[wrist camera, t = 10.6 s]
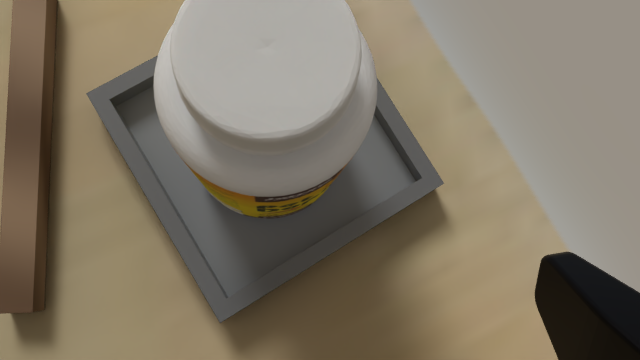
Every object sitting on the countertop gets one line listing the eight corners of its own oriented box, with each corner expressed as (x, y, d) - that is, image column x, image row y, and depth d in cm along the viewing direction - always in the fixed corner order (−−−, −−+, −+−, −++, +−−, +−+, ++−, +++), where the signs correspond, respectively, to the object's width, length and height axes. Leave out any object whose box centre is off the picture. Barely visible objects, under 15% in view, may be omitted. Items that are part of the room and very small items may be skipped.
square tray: (434, 187, 22) (443, 183, 21) (223, 319, 21) (220, 323, 19) (309, -12, 23) (310, -27, 22) (96, 102, 21) (86, 93, 20)
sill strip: (44, 309, 20) (32, 312, 19) (9, 311, 20) (-4, 313, 19) (57, -2, 22) (47, -15, 21) (25, -3, 22) (13, -15, 21)
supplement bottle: (254, 250, 21) (238, 239, 11) (165, 134, 21) (68, 17, 11) (369, 161, 22) (454, 73, 12) (281, 51, 22) (290, -127, 12)
